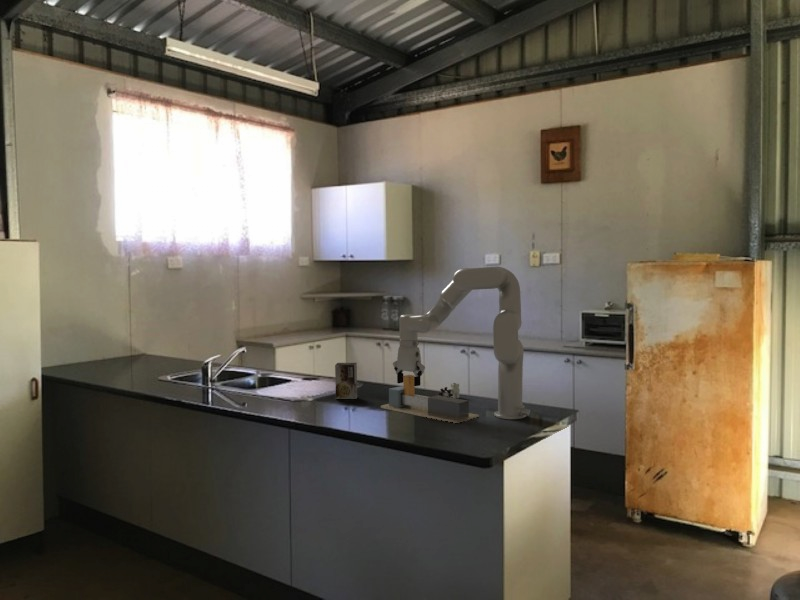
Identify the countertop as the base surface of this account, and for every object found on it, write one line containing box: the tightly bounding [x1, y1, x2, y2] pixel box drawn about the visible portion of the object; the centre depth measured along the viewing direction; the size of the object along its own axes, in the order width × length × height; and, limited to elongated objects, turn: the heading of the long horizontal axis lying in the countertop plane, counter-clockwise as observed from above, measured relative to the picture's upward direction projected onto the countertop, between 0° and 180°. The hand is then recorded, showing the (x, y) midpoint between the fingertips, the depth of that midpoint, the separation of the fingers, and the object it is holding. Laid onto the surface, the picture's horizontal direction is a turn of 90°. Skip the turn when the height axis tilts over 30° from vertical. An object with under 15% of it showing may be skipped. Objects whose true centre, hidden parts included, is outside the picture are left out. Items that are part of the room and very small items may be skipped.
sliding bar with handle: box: [401, 374, 429, 409], centre depth 266 cm, size 23×4×12 cm, turn 47°
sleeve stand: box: [380, 394, 480, 424], centre depth 262 cm, size 41×14×7 cm, turn 47°
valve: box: [438, 382, 460, 399], centre depth 288 cm, size 7×7×12 cm
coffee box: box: [334, 362, 358, 400], centre depth 290 cm, size 9×6×16 cm
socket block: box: [388, 385, 405, 407], centre depth 273 cm, size 6×8×7 cm
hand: (408, 384), depth 269 cm, fingers open, 9 cm apart
